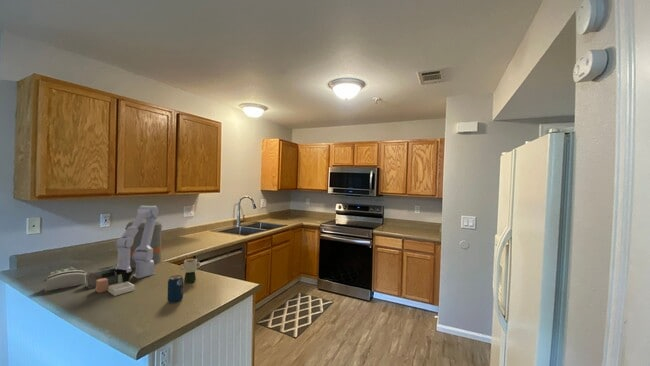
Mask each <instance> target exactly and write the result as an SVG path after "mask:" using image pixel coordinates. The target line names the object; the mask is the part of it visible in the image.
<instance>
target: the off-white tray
mask: <svg viewBox="0 0 650 366" xmlns="http://www.w3.org/2000/svg"><path fill="white" fill-rule="evenodd" d="M135 288H136V287H135V284H133V283H131V282H130V281H129V282H128V281H127V282H123V283H120V284H118V283H115V284H112V285H108V291H107V292H108V293H110V294H111V295H113V297H115V296H119V295H123V294H126V293H130V292H134V291H135Z"/></svg>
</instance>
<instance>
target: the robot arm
mask: <svg viewBox="0 0 650 366" xmlns="http://www.w3.org/2000/svg"><path fill="white" fill-rule="evenodd" d="M159 212H160V211H159V208H158V206H157V205H143V204H142V205H140V206H139V207H138V209H137V210H136V213H137V214H136V217H135V219H134V222H133V224H132V226H129V227H128V228H127V230H126V229H125V231H124V233H123V234H122V236H121V237H119V238H118V239H116V241H115V243H114V244H115V245H114V246H115V247H116V251H117V264H116V266H117V267H115V272H116V274H117V277H118V275H120V274H121V275H122V278H123V282H127V281H128V282H130V279H131V276H132V277H135V278H137V279H142V278H145V277H149V276H152V275H155V265H154V261H153V260H151V259H152V258H153V249H152V248H151V247H150V243H151V239H152V234H153V230H154V226H155V222H156V220H158V216H159ZM144 219H145V220H146V223H145V227H144V231H143V235H142V239H141V244H140V246H139V247H137V248H136V249H135V252H134V253H133V256H132V258H133V260H134V261H135V262H136V268H135V273H134V270H132V267H130V247H131V246H132V245H133V241H134V237H135V235H136V234H137V232H138V227H139V226H140V224H141V223H142V222H143V220H144ZM142 250H147V251H142ZM133 273H134V274H133Z"/></svg>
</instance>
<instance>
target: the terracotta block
mask: <svg viewBox="0 0 650 366" xmlns="http://www.w3.org/2000/svg"><path fill="white" fill-rule="evenodd" d="M108 286H109V283H108V279H106V278H103V279H98V280H96V287H95V291H96V292H97V294H98V293H99V294H100V293H103V292H108Z"/></svg>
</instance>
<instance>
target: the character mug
mask: <svg viewBox="0 0 650 366" xmlns="http://www.w3.org/2000/svg"><path fill="white" fill-rule="evenodd" d="M179 265H180V266H179V269H180V271H184V273H185V274H184V278H183V283H187V284H190V283H191V284H192V283H193V282H196V281H197V277H196V271H197V269H198V268H201V262H200V261H198V259H197V258H188V259H185V260H183V264H179Z"/></svg>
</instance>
